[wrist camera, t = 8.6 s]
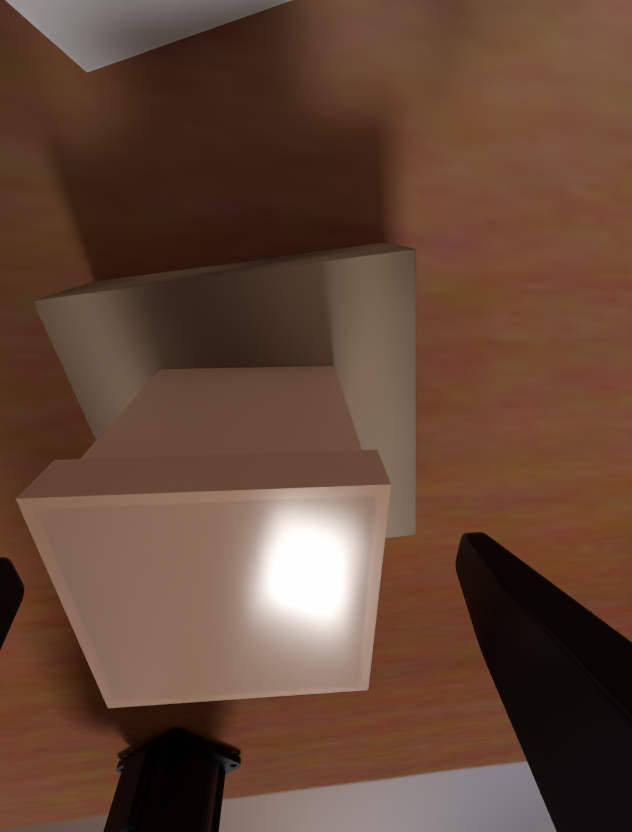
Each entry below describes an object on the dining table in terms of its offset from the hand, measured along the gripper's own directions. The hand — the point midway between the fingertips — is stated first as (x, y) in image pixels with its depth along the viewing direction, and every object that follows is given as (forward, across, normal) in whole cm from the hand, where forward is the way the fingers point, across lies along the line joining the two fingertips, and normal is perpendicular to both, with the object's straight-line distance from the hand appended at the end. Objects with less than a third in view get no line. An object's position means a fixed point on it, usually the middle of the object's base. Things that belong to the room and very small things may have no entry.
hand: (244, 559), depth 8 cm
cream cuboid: (+5, 0, 0) cm, 5 cm away
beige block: (+9, 0, 0) cm, 9 cm away
